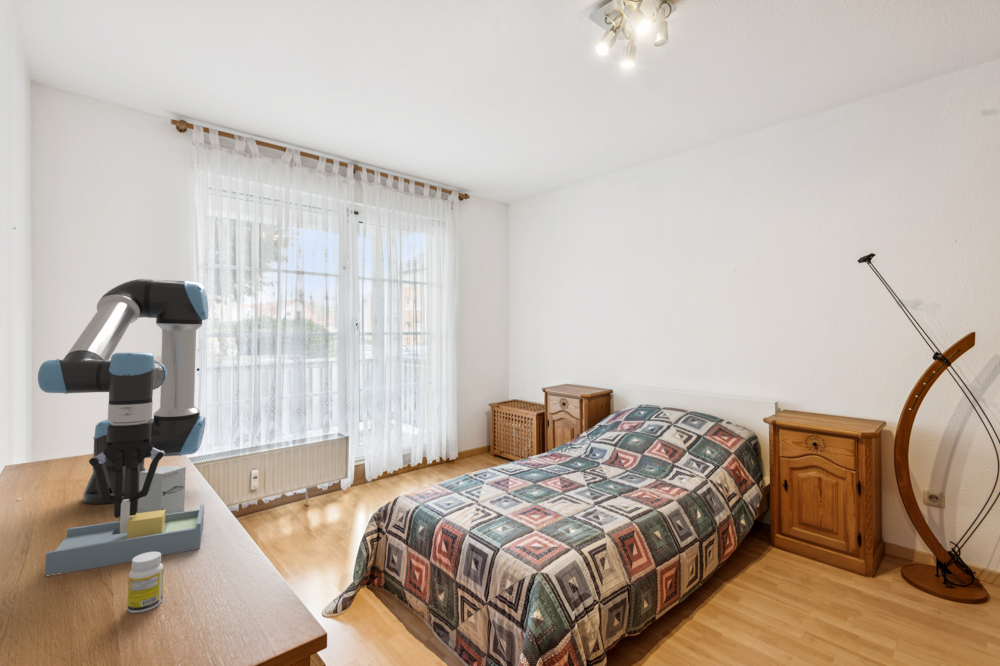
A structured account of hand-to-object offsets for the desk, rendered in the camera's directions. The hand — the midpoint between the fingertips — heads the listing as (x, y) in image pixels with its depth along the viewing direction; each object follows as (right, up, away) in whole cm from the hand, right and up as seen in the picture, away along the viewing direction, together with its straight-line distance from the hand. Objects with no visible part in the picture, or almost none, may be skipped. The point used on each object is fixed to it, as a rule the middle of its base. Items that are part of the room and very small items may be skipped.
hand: (125, 530), depth 97 cm
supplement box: (-6, -5, +18) cm, 20 cm away
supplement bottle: (+21, -4, -20) cm, 29 cm away
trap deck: (+1, -4, 0) cm, 4 cm away
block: (+3, -1, +2) cm, 4 cm away
